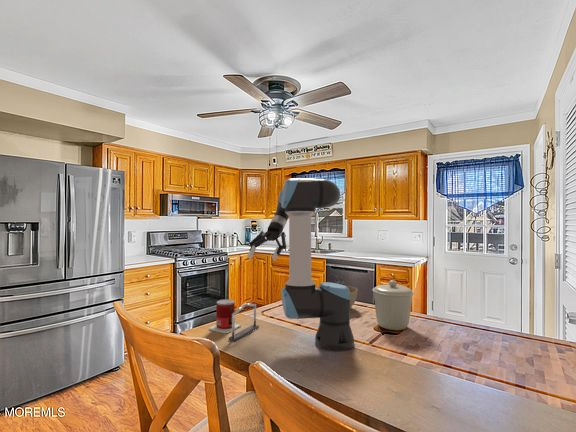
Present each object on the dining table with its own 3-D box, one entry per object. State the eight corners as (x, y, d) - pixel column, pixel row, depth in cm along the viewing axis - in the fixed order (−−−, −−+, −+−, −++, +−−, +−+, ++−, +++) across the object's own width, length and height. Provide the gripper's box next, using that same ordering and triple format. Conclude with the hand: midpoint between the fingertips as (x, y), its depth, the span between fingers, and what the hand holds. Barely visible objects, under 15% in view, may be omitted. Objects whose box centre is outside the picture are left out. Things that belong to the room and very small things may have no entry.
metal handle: (258, 328, 144) (259, 298, 144) (234, 342, 128) (235, 308, 128) (253, 327, 145) (253, 297, 145) (228, 340, 129) (228, 307, 129)
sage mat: (241, 326, 145) (241, 324, 145) (227, 333, 136) (227, 331, 136) (223, 323, 150) (223, 321, 150) (208, 329, 141) (208, 328, 141)
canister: (407, 321, 155) (407, 277, 155) (419, 334, 137) (419, 285, 137) (369, 319, 157) (369, 276, 157) (375, 333, 139) (375, 283, 139)
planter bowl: (321, 306, 179) (321, 286, 179) (345, 303, 186) (346, 284, 186) (338, 314, 164) (338, 293, 164) (363, 310, 171) (363, 290, 171)
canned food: (232, 329, 139) (233, 304, 139) (214, 329, 139) (214, 303, 139) (235, 323, 147) (236, 299, 147) (218, 323, 147) (218, 299, 147)
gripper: (300, 231, 164) (287, 265, 150) (259, 230, 175) (242, 261, 162) (296, 221, 159) (281, 254, 146) (253, 220, 170) (236, 251, 157)
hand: (261, 258), depth 154 cm, fingers open, 13 cm apart
